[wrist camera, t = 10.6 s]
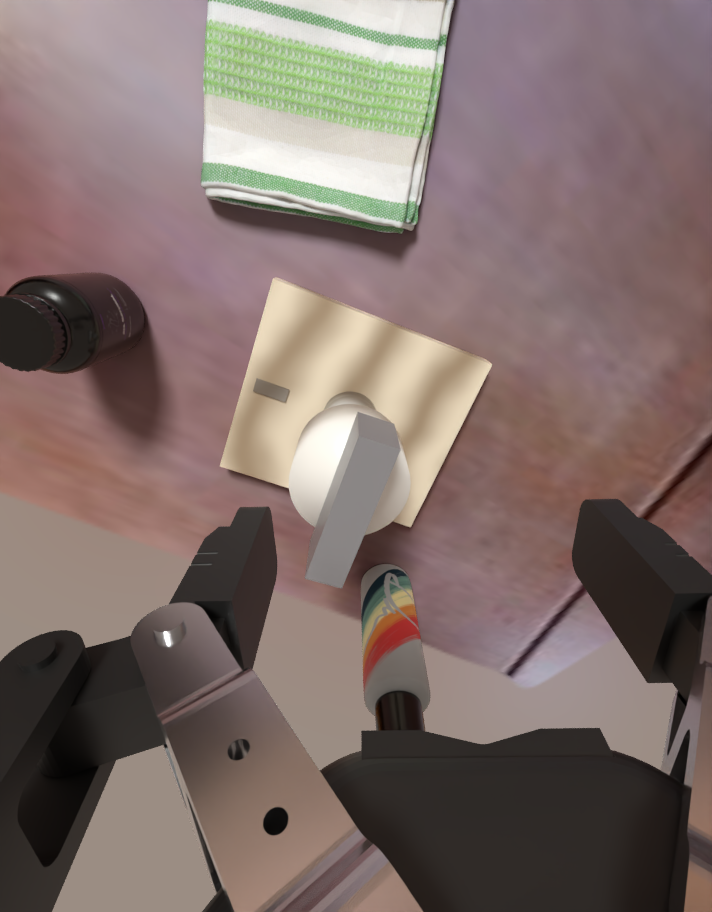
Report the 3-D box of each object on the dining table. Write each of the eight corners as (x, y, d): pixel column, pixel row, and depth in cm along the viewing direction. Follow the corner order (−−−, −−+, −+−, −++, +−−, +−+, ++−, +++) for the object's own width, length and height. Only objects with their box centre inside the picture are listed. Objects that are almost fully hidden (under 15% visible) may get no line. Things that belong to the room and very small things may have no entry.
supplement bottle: (163, 314, 40) (93, 340, 30) (117, 367, 42) (36, 409, 31) (96, 252, 38) (-6, 254, 27) (51, 310, 40) (-61, 334, 29)
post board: (486, 359, 42) (523, 390, 33) (408, 516, 49) (421, 578, 40) (276, 277, 39) (254, 286, 30) (224, 457, 46) (194, 509, 37)
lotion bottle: (411, 561, 52) (443, 733, 33) (409, 601, 54) (439, 781, 36) (360, 562, 52) (365, 734, 33) (360, 602, 54) (365, 783, 36)
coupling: (319, 376, 32) (308, 419, 24) (424, 411, 34) (448, 464, 25) (280, 494, 36) (260, 566, 28) (376, 522, 37) (383, 599, 29)
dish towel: (204, 200, 37) (190, 195, 34) (215, -226, 28) (197, -288, 25) (411, 238, 39) (416, 237, 35) (487, -158, 29) (504, -208, 26)
